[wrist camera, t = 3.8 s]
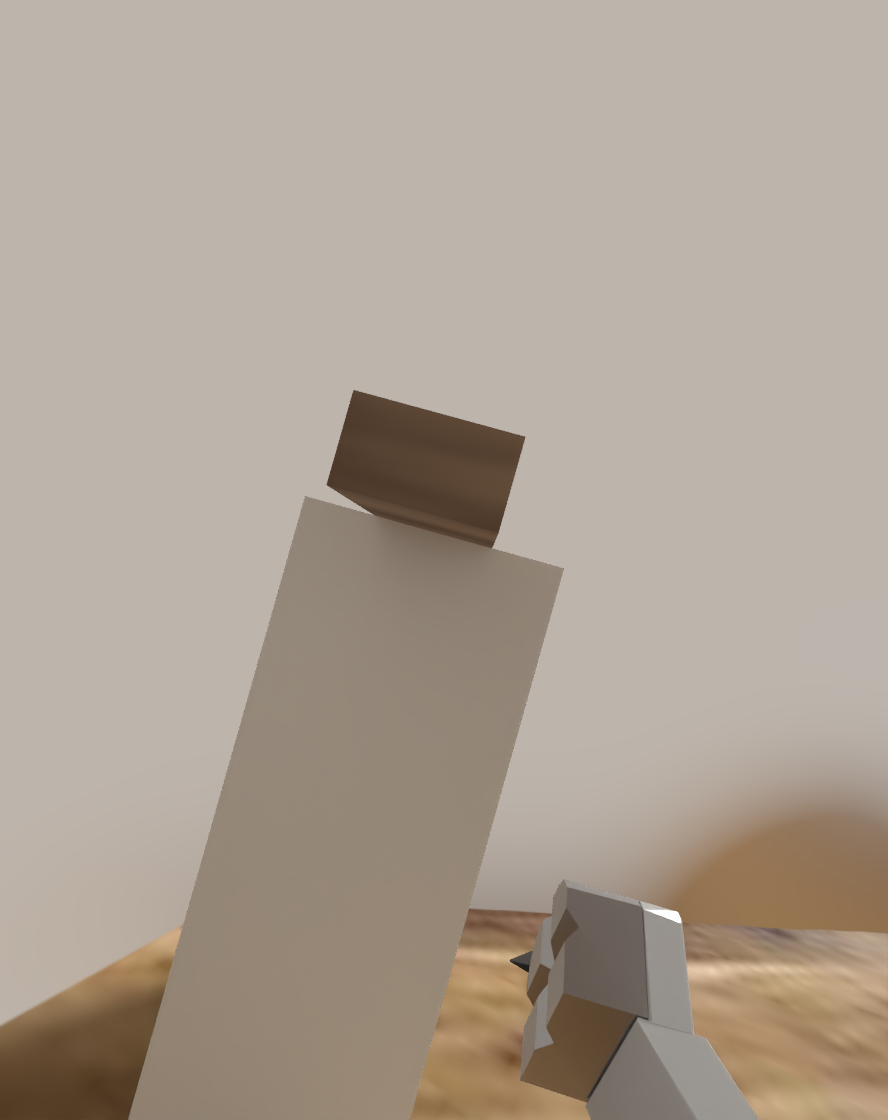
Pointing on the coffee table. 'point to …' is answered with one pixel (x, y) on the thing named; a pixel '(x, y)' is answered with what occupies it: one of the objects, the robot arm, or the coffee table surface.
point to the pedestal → (348, 826)
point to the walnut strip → (425, 468)
